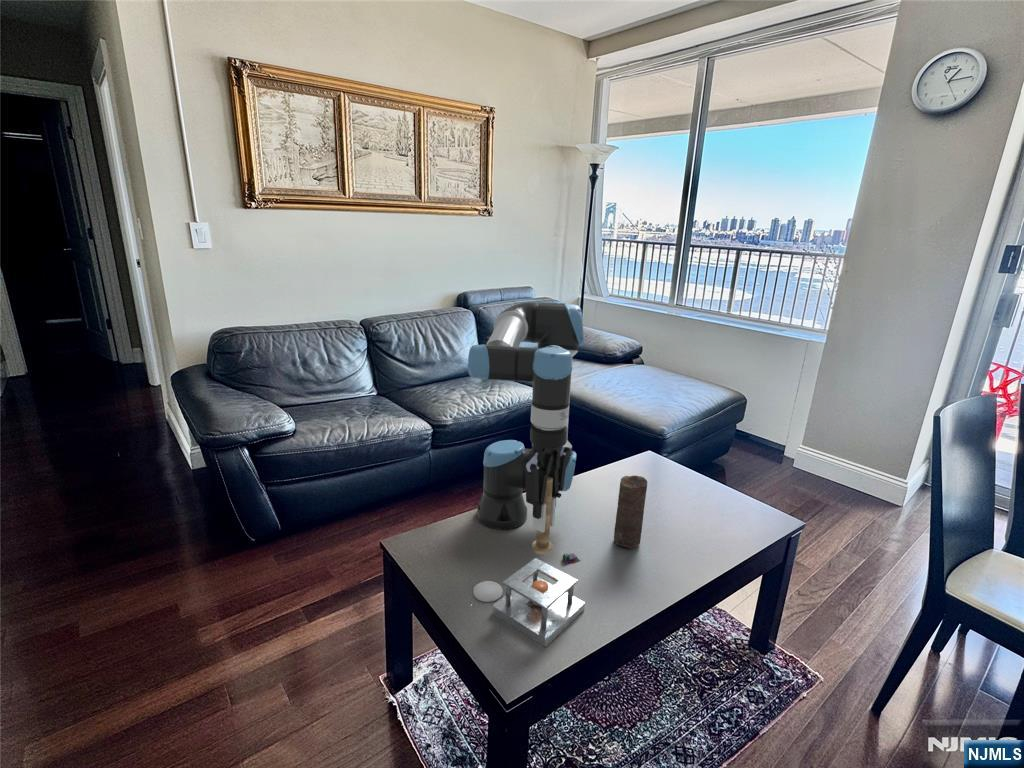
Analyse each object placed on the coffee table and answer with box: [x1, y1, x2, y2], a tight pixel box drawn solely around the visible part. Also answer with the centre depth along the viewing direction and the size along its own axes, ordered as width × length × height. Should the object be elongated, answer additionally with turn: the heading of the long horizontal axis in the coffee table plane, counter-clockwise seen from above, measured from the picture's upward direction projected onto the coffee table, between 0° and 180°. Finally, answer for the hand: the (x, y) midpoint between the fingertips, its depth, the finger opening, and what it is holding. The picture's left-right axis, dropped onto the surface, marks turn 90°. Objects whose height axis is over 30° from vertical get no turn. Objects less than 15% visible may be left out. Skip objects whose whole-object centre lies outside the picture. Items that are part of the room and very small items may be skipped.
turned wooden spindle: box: [531, 476, 553, 556], centre depth 111 cm, size 4×4×17 cm
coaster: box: [472, 580, 504, 603], centre depth 124 cm, size 7×7×1 cm
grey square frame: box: [491, 557, 586, 648], centre depth 118 cm, size 15×15×8 cm
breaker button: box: [532, 580, 548, 607], centre depth 117 cm, size 4×4×4 cm
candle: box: [613, 475, 648, 549], centre depth 143 cm, size 8×7×20 cm
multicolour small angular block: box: [562, 553, 581, 564], centre depth 137 cm, size 4×3×2 cm, turn 116°
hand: (543, 526), depth 112 cm, fingers closed on turned wooden spindle, 3 cm apart
